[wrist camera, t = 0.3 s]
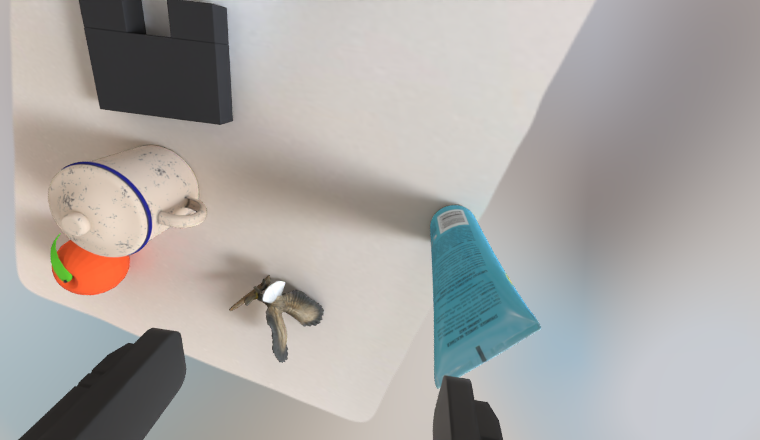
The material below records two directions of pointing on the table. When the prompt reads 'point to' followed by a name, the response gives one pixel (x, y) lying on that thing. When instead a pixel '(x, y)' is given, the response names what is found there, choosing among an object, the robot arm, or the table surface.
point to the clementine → (86, 269)
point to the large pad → (160, 60)
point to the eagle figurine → (279, 303)
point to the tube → (471, 297)
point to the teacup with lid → (125, 200)
